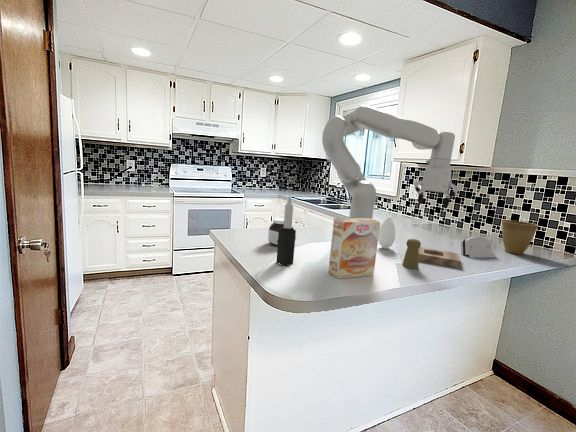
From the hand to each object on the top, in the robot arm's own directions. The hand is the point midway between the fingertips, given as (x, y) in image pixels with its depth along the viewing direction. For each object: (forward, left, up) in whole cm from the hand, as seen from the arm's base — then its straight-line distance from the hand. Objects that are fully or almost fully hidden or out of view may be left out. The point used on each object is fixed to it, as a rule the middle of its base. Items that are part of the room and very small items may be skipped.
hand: (432, 205), depth 130 cm
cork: (-5, -12, -24) cm, 27 cm away
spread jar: (-60, -16, -24) cm, 66 cm away
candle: (-47, -40, -24) cm, 66 cm away
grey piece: (+22, +30, -24) cm, 45 cm away
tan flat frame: (+3, +6, -24) cm, 25 cm away
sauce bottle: (-18, +11, -24) cm, 32 cm away
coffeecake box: (-23, -36, -24) cm, 49 cm away
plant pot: (+41, +51, -24) cm, 70 cm away
